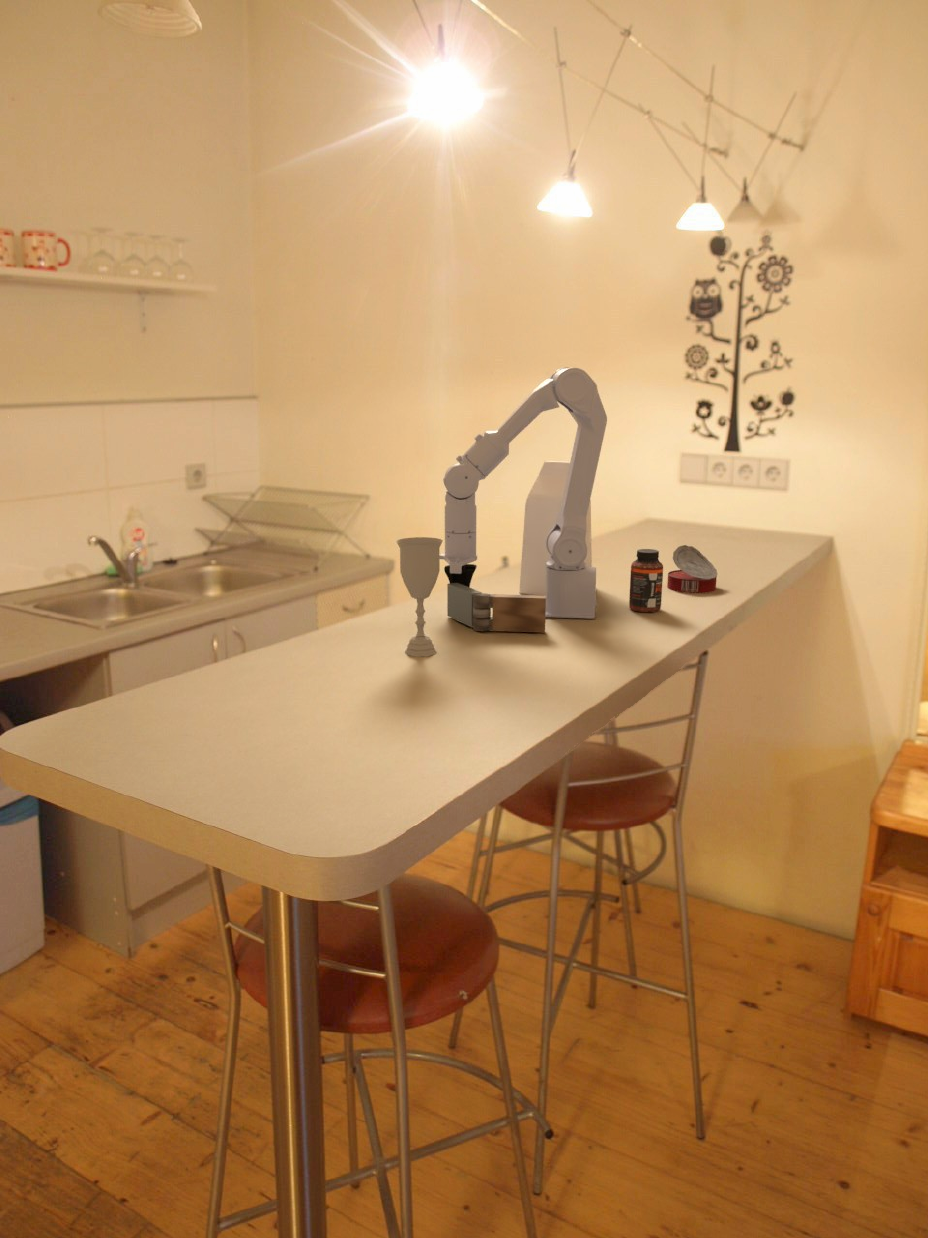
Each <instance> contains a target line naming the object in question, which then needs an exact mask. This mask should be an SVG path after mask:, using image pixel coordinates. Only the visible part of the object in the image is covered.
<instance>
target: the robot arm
mask: <svg viewBox="0 0 928 1238" xmlns="http://www.w3.org/2000/svg"><path fill="white" fill-rule="evenodd" d="M560 405H561V406H563V407H564V408H565V409H566V410H568V412H569V414H570V415H571V416H572V418H573V420H575V422H576V424H577V429H576V433H575V437H574V443H573V447H572V452H571V457H570V461H569V462H570V466H569V471H568V475H567V480H566V485H565V490H564V494H563V499H562V504H561V509H560V512H559V514H558V516H557V518H556V522H555V526H554V528H553V530H552V531H551V532H550V533H549V535H548V537H547V540H546V547H547V550H548V552H549V553H550V554H551V555H552V556H551V557H550V559H549V561H548V562H547V563H546V591H545V595H544V596H546V618H562V619H566V618H567V619H591V620H592V619H593V620H594V619H595V617H596V614H595V613H596V608H597V607H598V596H597V597H596V590H597V588H596V586H597V568H596V567H593V566H592V567H586V563H585V562H584V560H585V558H586V556H587V545H586V541H585V536H586V531H587V525H586V516H587V512H588V507H589V502H590V500H591V497H592V493H593V488H594V483H595V480H596V479H595V478H596V474H597V469H598V465H599V461H600V455H601V451H602V446H603V442H604V438H605V437H604V436H605V433H606V427H607V424H608V423H607V422H608V417H607V413H606V411H605V408H604V405H603V402H602V399H601V396H600V394H599V390H598V386H597V383H596V382H595V380H593V378H592V377H591V376H590V375H589V374H588V373H587V372H586V371H585V370H584V369H581V368H579V367H561V368H559V369H557V370H556V371H554V372H553V373H552V375H551V376H550V378H547V379H545V380H544V381H542V382H541V383H540V384H539V385H538V386H537V387H536V388H534V389H533V390H532V391H531V392H530V393H529V395H528V396H527V397H526V398H525V399H524V400H523V401H522V402H521V403H520V405H518V406H517V408H515V410H514V411H513V412H512V413H511V414H510V416H509V417H507V418H506V420H505V421H504V422H503V423H502V424H501V425H500V426H499V428H498V429H497V430H487V431H484V433H483V434H480V433H478V434H477V435H476V436H475V437H473V438H474V440H475V442H474V443H473V444H472V445H471V446H470V447H469V448H468V449H467V450H466V451H465V452H464V453H463V454H462V455H460V454H458V456H457V457H456V461H457V463H455V464H452V465H451V466H449V467H448V468H447V469H446V471H445V473H444V476H443V480H442V481H443V484H444V487H445V488H446V492H445V493H446V494H445V496H444V497H445V498H444V502H445V505H444V553H439V554H440V560H444V561H445V562H446V563H447V564H448V565H445V566H444V572H445V573H444V574H445V575H446V577H447V579H448V581H449V582H448V583H459V584H462V585H464V586H467V587H469V588H471V582H472V579H473V576H474V574H475V571H476V569H477V567H478V566H477V564H474V562H475V561H477V560H478V554H477V505H476V492H477V491H478V488H479V485H480V481H481V480H485V479H486V478H488V476H489V475H490V474H491V473H492V472H493V471H494V470H495V469H496V468H497V467H498V466H499V465H500V464H501V462H503V460H505V459H506V458H507V456H509V454H510V443H511V442H512V441H513V440H514V439H516V437H517V436H519V434H521V432H523V431H524V430H525V429H526V428H527V427H528V426H529V425H530V424H531V423H532V422H533V421H534V420H535V419H536V418H538V417H539V415H540V414H541V413H543V412H547V411H550V410H554V409H558V408H560ZM471 563H472V564H471Z"/></svg>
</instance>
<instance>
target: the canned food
mask: <svg viewBox="0 0 928 1238" xmlns="http://www.w3.org/2000/svg"><path fill="white" fill-rule="evenodd" d="M672 561H673V563H674V565H675V566H676V567H677V568H678V570H671V571H668V573H667V582H666V583H667V585H666V587H667V589H668V590H671V591H673V592H677V593H683V594H709V593H713V592H715V591H717V590H716V589H717V577H718V571H717V569H716V567H715V566H714V565H713V563H712V562H711V561H709V559H708V558H707V557H706V556H705V555H703V554H702V553H701V552H700V551H699V549H697V548H696V547H694V546H692V545H686V544H685V545H684V544H683V545H680V546H677V548H675V550H674V551H673V554H672Z"/></svg>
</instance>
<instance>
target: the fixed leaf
mask: <svg viewBox="0 0 928 1238" xmlns="http://www.w3.org/2000/svg"><path fill="white" fill-rule="evenodd" d="M473 607H474V608H480V609H485V608H491V609H492V613H491V614H492V615H491V617H489V618H476V617H473V627H472V630H474V631H476V632H488V631H492V632H520V633H522V632H523V633H546V618H547V617H546V596H545V595H535V594H504V593H503V594H501V593H500V594H497V593H495V594H494V593H493V594H492V593H491V594H490V593H483V592H482V593H477V594H474V595H473Z"/></svg>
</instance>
